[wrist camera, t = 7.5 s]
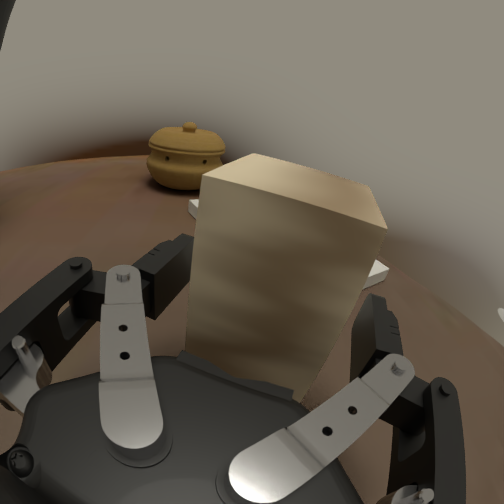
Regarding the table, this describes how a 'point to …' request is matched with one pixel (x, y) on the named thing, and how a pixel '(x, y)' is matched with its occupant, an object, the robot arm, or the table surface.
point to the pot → (184, 156)
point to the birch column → (277, 268)
